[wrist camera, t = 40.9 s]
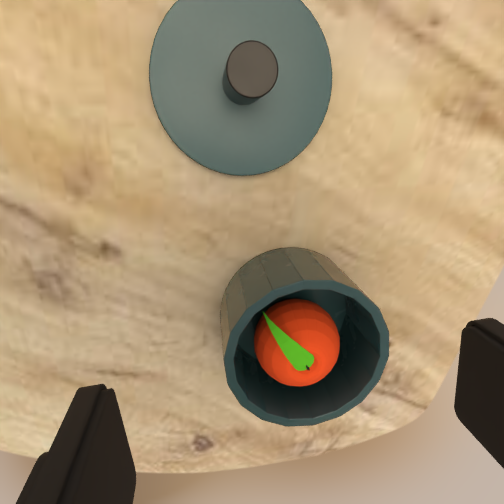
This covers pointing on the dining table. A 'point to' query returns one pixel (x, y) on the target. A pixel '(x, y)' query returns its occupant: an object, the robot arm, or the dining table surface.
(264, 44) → the pot lid
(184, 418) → the dining table surface
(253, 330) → the pot
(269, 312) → the clementine
